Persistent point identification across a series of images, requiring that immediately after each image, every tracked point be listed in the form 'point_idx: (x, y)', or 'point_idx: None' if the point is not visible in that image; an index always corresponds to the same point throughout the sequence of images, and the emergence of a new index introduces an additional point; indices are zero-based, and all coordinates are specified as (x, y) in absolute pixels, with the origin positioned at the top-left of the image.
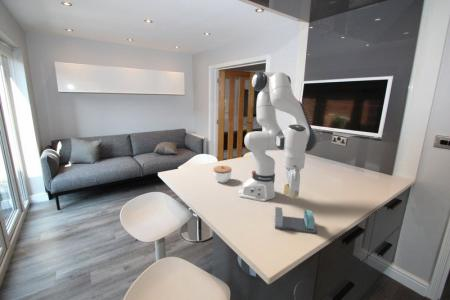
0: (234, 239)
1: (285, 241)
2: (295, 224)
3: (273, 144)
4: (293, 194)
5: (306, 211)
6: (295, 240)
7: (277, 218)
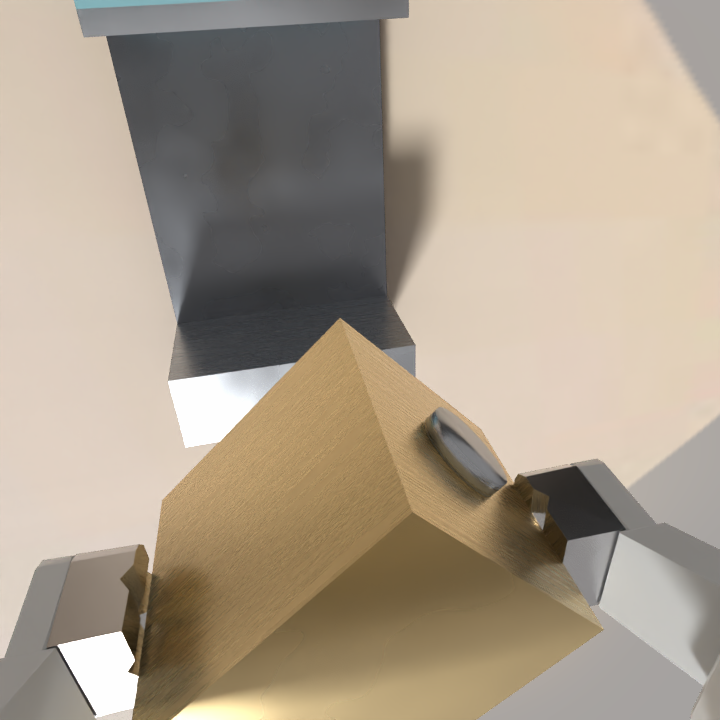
0: None
1: (548, 240)
2: (307, 157)
3: None
4: (617, 499)
5: (138, 3)
6: (527, 152)
7: None
